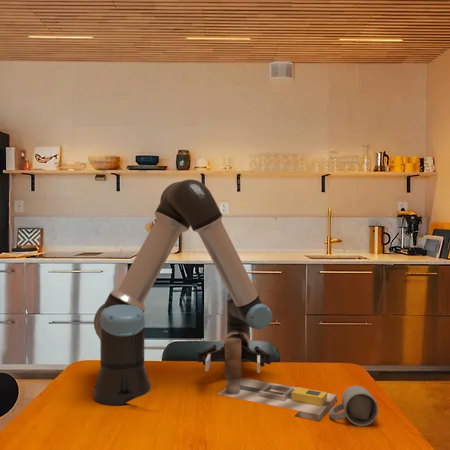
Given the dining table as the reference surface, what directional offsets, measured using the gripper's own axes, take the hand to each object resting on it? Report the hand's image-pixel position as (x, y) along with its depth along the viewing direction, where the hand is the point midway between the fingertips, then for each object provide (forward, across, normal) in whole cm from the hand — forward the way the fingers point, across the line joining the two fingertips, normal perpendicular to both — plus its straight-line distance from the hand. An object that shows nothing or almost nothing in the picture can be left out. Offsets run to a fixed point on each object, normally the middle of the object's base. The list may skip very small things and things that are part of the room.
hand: (232, 366), depth 126 cm
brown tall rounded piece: (-3, 0, -8) cm, 8 cm away
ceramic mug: (+8, -30, -10) cm, 32 cm away
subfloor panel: (-2, -12, -9) cm, 15 cm away
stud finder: (+1, -20, -8) cm, 21 cm away
